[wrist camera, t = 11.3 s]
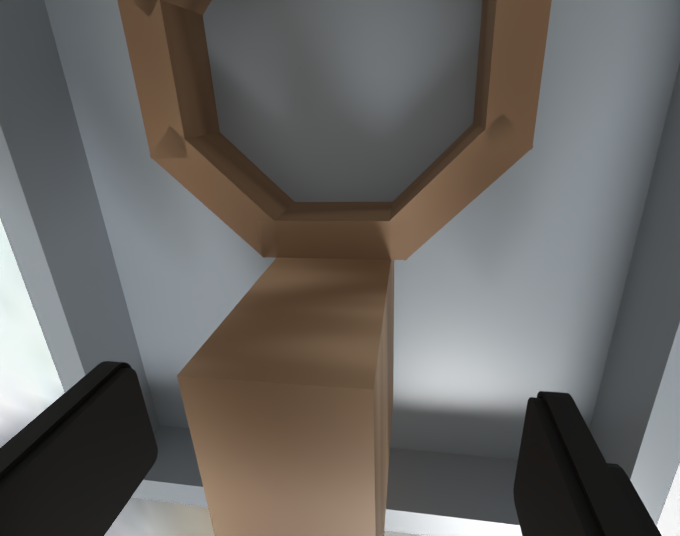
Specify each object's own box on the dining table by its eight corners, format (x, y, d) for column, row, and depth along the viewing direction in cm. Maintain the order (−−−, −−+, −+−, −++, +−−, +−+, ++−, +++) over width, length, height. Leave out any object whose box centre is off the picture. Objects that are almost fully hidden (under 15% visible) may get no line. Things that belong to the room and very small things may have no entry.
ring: (550, -196, 8) (1031, -1218, 2) (483, 404, 14) (541, 665, 8) (140, -132, 10) (-384, -566, 3) (231, 385, 15) (104, 590, 9)
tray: (878, -535, 6) (1214, -989, 4) (600, 477, 15) (642, 563, 12) (-60, -300, 9) (-250, -458, 7) (149, 432, 18) (102, 493, 15)
